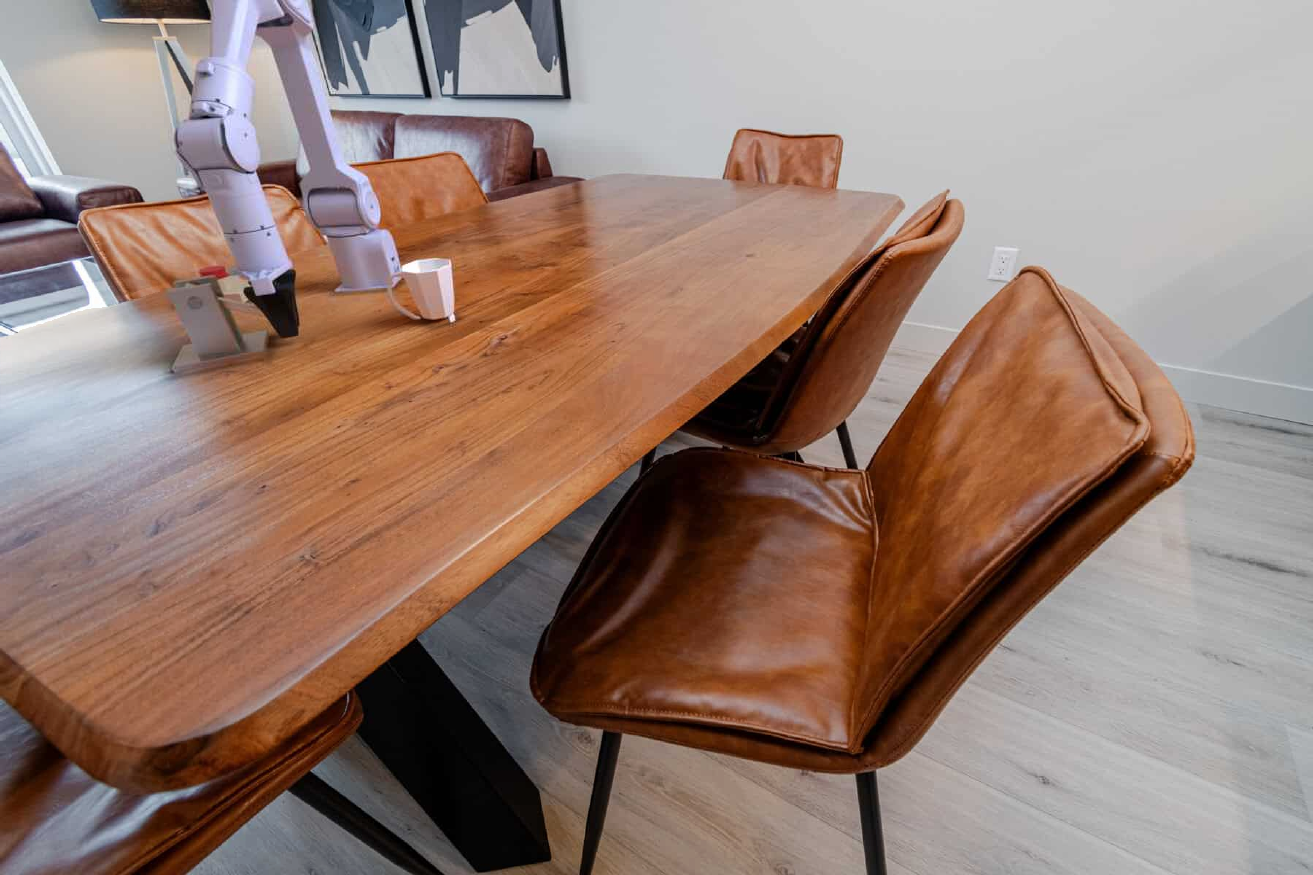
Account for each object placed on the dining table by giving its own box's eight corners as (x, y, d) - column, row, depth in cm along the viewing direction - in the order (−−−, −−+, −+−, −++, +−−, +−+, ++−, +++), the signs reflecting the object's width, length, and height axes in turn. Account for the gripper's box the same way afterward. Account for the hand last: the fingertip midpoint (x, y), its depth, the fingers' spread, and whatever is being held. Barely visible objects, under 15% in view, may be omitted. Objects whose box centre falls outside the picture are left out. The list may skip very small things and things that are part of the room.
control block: (266, 287, 104) (257, 267, 102) (243, 303, 97) (234, 282, 95) (206, 292, 103) (196, 272, 101) (179, 308, 96) (169, 287, 94)
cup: (455, 329, 83) (441, 272, 78) (386, 331, 84) (368, 274, 79) (472, 311, 89) (459, 256, 84) (407, 312, 90) (391, 258, 85)
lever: (294, 326, 82) (298, 304, 81) (293, 334, 80) (298, 311, 79) (184, 302, 75) (188, 278, 74) (180, 310, 73) (183, 285, 72)
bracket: (270, 337, 84) (241, 267, 78) (266, 358, 77) (234, 284, 72) (187, 353, 80) (150, 281, 75) (175, 376, 74) (135, 300, 69)
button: (233, 275, 100) (228, 264, 99) (221, 282, 97) (217, 271, 96) (210, 276, 100) (205, 266, 99) (198, 283, 97) (193, 273, 96)
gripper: (220, 221, 78) (261, 320, 85) (202, 246, 67) (252, 357, 74) (280, 214, 80) (316, 311, 87) (273, 236, 69) (315, 345, 76)
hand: (290, 331), depth 81 cm, fingers closed on lever, 3 cm apart
